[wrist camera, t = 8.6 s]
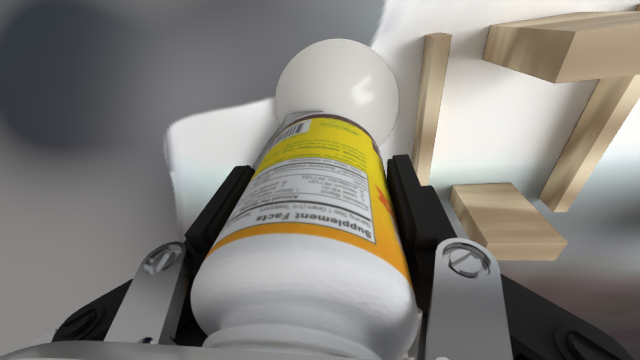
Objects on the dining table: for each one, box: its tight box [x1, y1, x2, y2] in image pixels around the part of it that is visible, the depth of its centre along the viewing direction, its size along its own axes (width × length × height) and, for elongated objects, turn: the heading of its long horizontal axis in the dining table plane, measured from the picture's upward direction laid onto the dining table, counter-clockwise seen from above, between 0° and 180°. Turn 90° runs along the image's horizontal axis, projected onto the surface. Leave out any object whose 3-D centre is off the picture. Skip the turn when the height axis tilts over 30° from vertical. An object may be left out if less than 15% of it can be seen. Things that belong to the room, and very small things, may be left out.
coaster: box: [275, 39, 399, 147], centre depth 19 cm, size 10×10×1 cm
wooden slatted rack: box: [412, 4, 640, 260], centre depth 16 cm, size 15×13×7 cm
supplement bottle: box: [191, 112, 419, 360], centre depth 8 cm, size 6×6×10 cm
